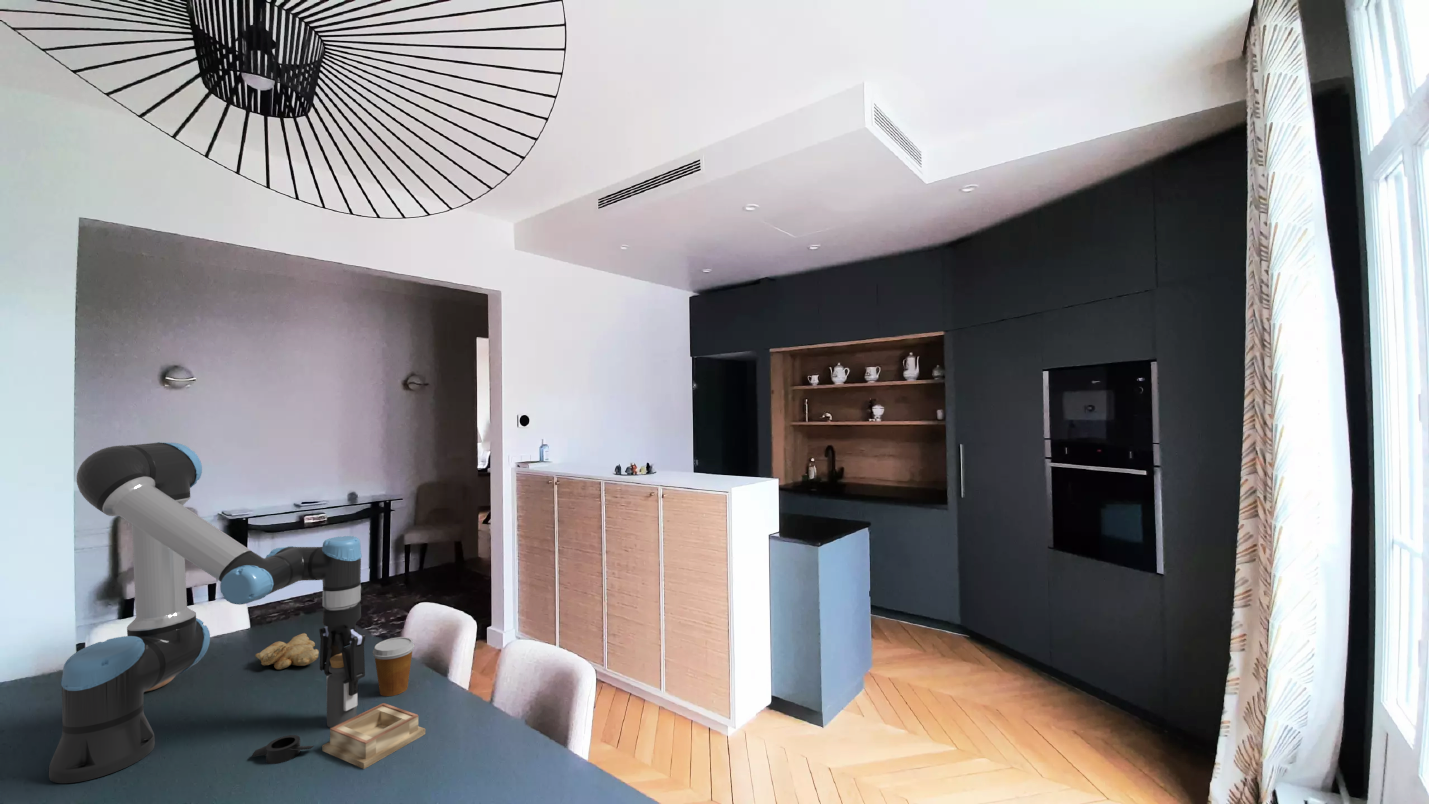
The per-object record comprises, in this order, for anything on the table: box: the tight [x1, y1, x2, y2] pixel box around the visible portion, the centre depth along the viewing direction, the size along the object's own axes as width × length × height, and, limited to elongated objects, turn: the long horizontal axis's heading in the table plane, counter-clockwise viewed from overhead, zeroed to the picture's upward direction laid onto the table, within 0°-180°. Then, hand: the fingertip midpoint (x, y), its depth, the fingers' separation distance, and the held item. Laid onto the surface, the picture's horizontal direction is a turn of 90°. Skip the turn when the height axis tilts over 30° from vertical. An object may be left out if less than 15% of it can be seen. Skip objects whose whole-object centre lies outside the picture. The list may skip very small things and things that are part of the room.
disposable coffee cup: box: [372, 636, 415, 697], centre depth 151 cm, size 10×10×12 cm
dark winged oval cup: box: [251, 734, 314, 765], centre depth 123 cm, size 8×10×3 cm
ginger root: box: [254, 632, 320, 671], centre depth 167 cm, size 16×16×8 cm
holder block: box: [321, 702, 426, 770], centre depth 128 cm, size 14×14×4 cm
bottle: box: [326, 653, 358, 729], centre depth 137 cm, size 6×6×15 cm
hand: (341, 704), depth 137 cm, fingers closed on bottle, 6 cm apart
